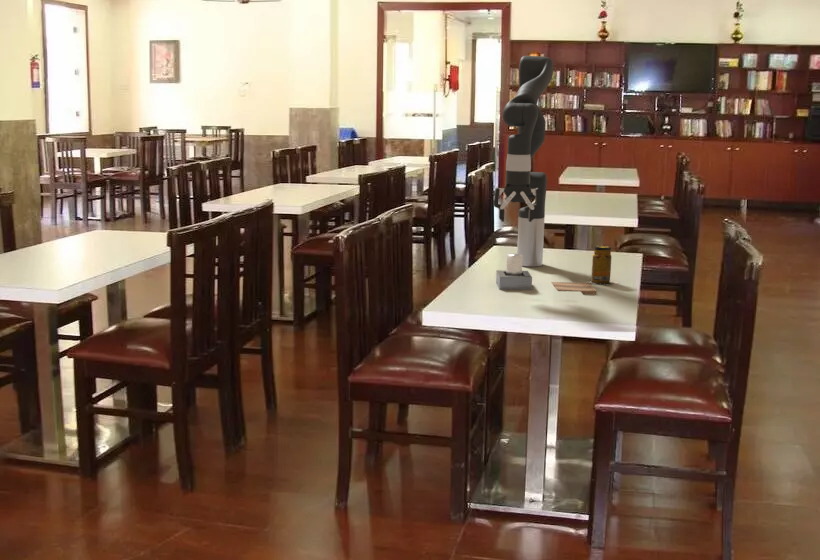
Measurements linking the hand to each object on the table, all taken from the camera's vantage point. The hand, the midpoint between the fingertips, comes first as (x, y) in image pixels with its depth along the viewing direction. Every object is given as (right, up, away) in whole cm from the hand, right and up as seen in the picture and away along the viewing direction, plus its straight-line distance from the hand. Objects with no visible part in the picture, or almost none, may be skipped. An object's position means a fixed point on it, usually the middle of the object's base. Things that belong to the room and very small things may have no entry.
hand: (516, 221), depth 286 cm
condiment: (+30, -19, +17) cm, 40 cm away
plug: (0, -20, +4) cm, 21 cm away
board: (+19, -21, +5) cm, 29 cm away
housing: (0, -21, +4) cm, 22 cm away
